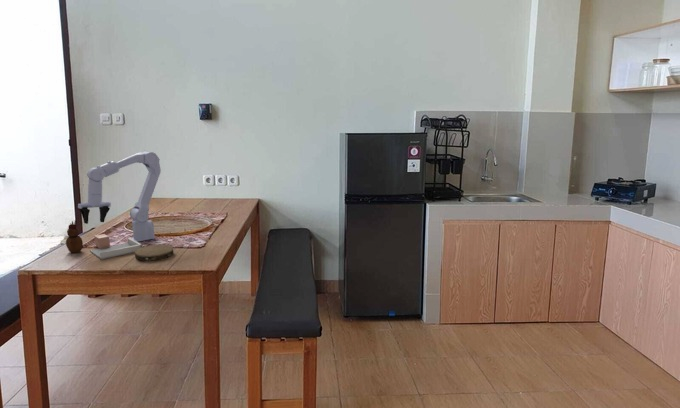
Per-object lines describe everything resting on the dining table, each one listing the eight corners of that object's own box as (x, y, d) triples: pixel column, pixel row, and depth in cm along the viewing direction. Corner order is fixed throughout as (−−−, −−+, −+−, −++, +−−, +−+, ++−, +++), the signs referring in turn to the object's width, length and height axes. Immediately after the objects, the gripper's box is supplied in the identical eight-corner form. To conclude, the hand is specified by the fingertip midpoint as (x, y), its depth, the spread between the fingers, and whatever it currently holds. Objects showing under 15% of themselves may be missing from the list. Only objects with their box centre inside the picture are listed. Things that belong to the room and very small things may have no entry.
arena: (130, 243, 232) (129, 237, 231) (142, 250, 221) (142, 244, 220) (90, 251, 220) (89, 245, 219) (101, 259, 209) (100, 252, 208)
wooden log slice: (142, 251, 221) (141, 245, 220) (177, 250, 222) (177, 244, 221) (129, 262, 205) (129, 256, 204) (167, 261, 206) (167, 255, 206)
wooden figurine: (85, 251, 220) (82, 219, 217) (73, 254, 215) (69, 222, 212) (77, 249, 224) (73, 217, 221) (65, 252, 219) (60, 220, 216)
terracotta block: (105, 243, 232) (104, 233, 231) (110, 246, 227) (108, 236, 226) (95, 245, 229) (94, 235, 228) (100, 248, 224) (98, 238, 223)
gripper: (105, 192, 231) (104, 220, 232) (74, 193, 219) (73, 222, 220) (113, 194, 227) (112, 222, 228) (82, 195, 215) (82, 225, 216)
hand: (94, 222), depth 224 cm, fingers open, 7 cm apart
